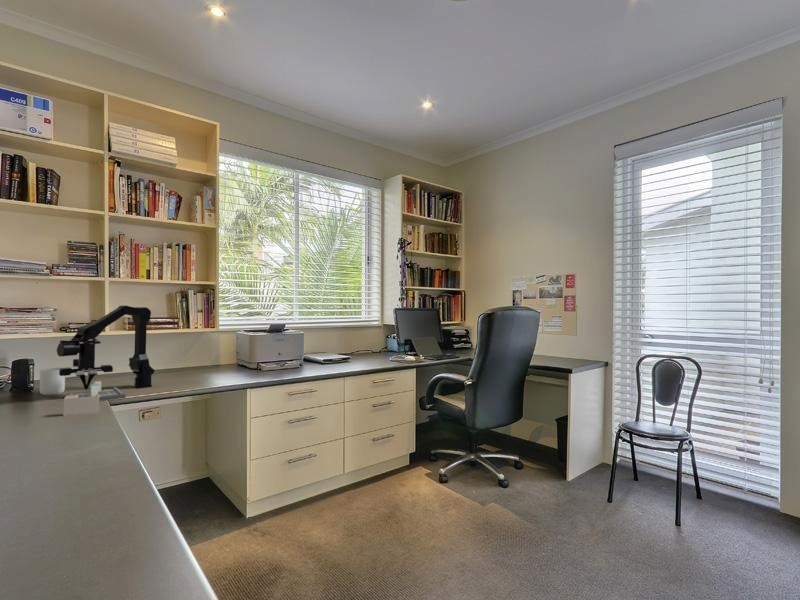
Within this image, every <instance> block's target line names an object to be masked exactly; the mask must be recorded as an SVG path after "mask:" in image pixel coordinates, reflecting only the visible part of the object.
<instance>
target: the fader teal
mask: <svg viewBox="0 0 800 600" xmlns="http://www.w3.org/2000/svg"><path fill="white" fill-rule="evenodd" d="M89 386H90V388H89V389H90V390H89V391H90V395H91V396H96V395H97V394H98V383H94V382H93V383H90V385H89Z"/></svg>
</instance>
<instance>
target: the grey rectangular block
mask: <svg viewBox="0 0 800 600" xmlns="http://www.w3.org/2000/svg"><path fill="white" fill-rule="evenodd" d="M94 383H98V392H99V391H101V390H102V380H101V379H93V384H94Z"/></svg>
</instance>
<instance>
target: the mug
mask: <svg viewBox="0 0 800 600" xmlns="http://www.w3.org/2000/svg"><path fill="white" fill-rule="evenodd" d="M60 368H61V367H52V368H51V367H50V368H42V369H39V393H40V394H41V395H42V396H53V395H55V396H56V395H59V394H63V392H65V390H66V376H60V375H59V369H60Z"/></svg>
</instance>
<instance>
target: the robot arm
mask: <svg viewBox="0 0 800 600" xmlns="http://www.w3.org/2000/svg"><path fill="white" fill-rule="evenodd" d="M124 316H131V319H132V321H133V324H134V354H133V355H132V357H129V359H128V361H129V362H128V367H129V368H130V370H131V371H132V372H133V374H134V375H135V377H134V378H133V384H134V385H133V386H134V387H135V388H136V389H141V388H149V387H150V388H151V387H153V385H152V375H154V374H155V369H154V368H153V367H152V366H151V365H150V360H149V357H148V356H147V328H148V324H149V322H150V320H151V316H152V310H151V309H150V308H149V307H145V306H144V307H141V306H140V307H134V306H129V305H119V306H117V308H115V309H113V310H112V311H110V312H109V313H107V314H106V315H104V316H102V317H101V318H99V319H97V320H96V321H93V322H90V323H87V324H84V325H82V326H80V327H79V328H78V329H77V332H76V333H75V335H74V336H73V337H72V338H71V339H70V340H63V339H62V340H59V343H58V345H57V347H56V354H57V356H58V357H70V356H71V357H72V356H77V355H78V358H75V359H73V360H72V367H71V366H70V367H59V368H60V369H59V375H60V376H65V377H67V376H70V375H72V374H75V376H76V377H79V378H80V380H81V383H82V387H83V388H84V390H85V391H87V390H88V389H89V386H90V384H91V382H92V381H93V380H94V379H93V378H94V377H95V376H97V375H98V372H103V373H112V372H114V367H113V365H111V364H100V366H97V367H96V366H95V365H96V363H95V361H96V358H95V356H96V345H98V344H101V341H99V340H98V338H97V337H98V336H100V334H101V333H102V332H103V330H104V329H106V328H107V327H108V326H110V325H112V324H113V323H114V322H116V321H117V320H120V319H121V318H123V317H124ZM85 373H87V377H86V374H85Z"/></svg>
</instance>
